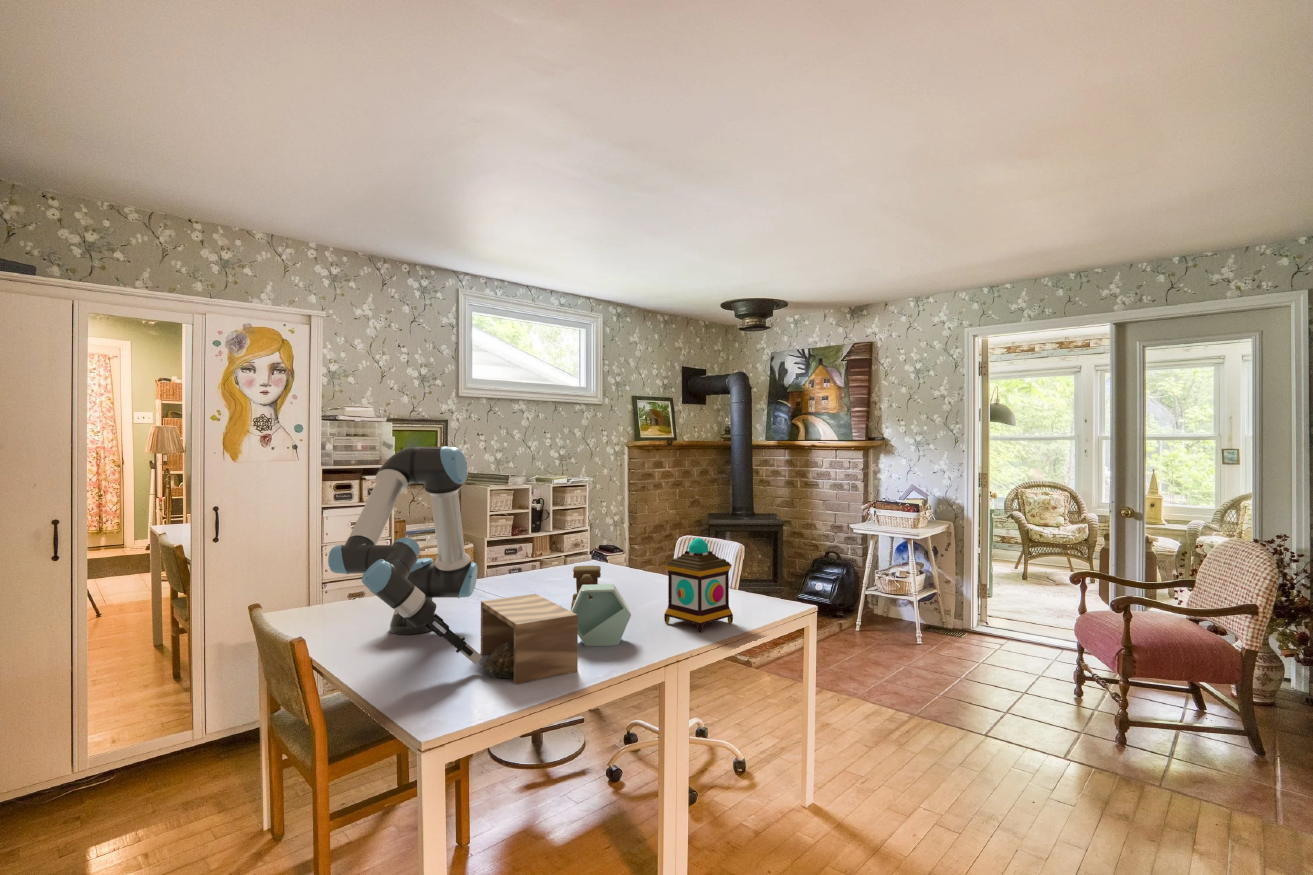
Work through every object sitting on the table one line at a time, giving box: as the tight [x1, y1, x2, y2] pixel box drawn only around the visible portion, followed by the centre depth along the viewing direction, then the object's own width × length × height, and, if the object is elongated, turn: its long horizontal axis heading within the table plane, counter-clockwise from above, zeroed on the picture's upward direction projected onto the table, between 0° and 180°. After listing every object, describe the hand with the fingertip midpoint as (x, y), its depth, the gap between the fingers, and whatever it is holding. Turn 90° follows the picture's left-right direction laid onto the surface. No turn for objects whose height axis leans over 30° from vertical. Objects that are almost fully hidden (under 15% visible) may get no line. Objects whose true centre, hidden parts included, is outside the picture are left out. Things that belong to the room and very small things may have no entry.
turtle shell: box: [480, 640, 514, 679], centre depth 174 cm, size 16×9×20 cm
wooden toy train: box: [570, 565, 602, 611], centre depth 230 cm, size 20×11×17 cm, turn 5°
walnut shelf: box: [480, 593, 579, 685], centre depth 180 cm, size 30×18×16 cm, turn 33°
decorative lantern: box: [663, 537, 734, 634], centre depth 220 cm, size 20×20×30 cm
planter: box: [570, 583, 632, 647], centre depth 198 cm, size 17×8×21 cm
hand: (478, 659), depth 172 cm, fingers closed
